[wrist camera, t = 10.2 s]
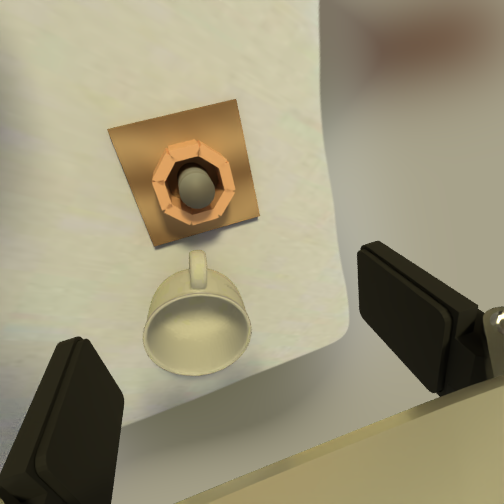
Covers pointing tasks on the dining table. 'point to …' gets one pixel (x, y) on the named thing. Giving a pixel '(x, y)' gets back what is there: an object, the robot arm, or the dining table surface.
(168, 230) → the post plate
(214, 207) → the ring
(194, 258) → the teacup
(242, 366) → the dining table surface
